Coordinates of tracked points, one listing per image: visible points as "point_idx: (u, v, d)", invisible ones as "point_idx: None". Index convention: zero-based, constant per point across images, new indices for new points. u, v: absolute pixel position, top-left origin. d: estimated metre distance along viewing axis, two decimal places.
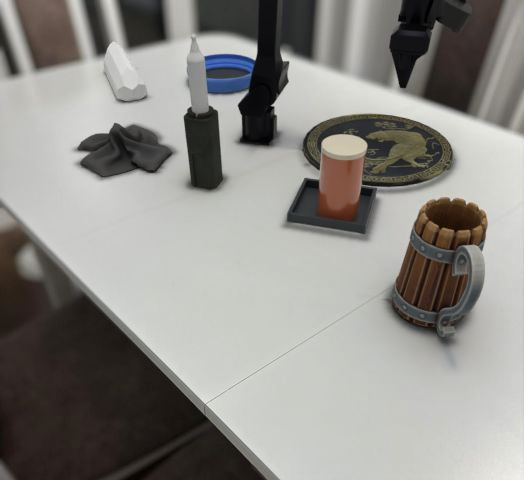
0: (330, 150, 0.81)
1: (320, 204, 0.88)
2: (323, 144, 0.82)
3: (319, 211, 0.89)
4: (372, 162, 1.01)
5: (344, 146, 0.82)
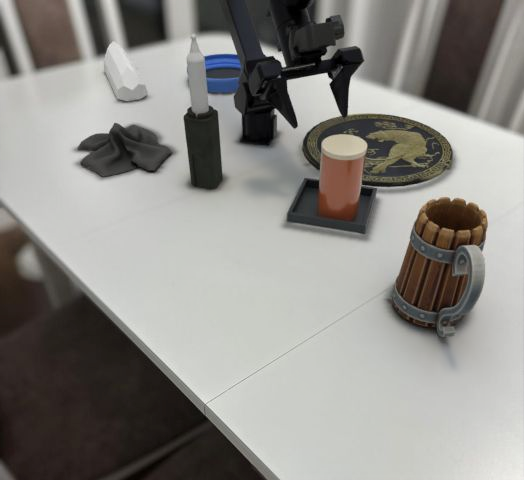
0: (330, 150, 0.81)
1: (320, 204, 0.88)
2: (323, 144, 0.82)
3: (319, 211, 0.89)
4: (372, 162, 1.01)
5: (344, 146, 0.82)
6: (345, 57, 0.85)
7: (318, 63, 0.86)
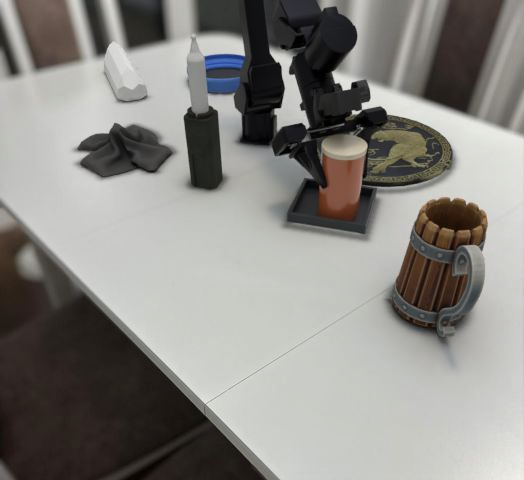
0: (330, 150, 0.81)
1: (320, 204, 0.88)
2: (323, 144, 0.82)
3: (319, 211, 0.89)
4: (372, 162, 1.01)
5: (344, 146, 0.82)
6: (370, 119, 0.84)
7: None
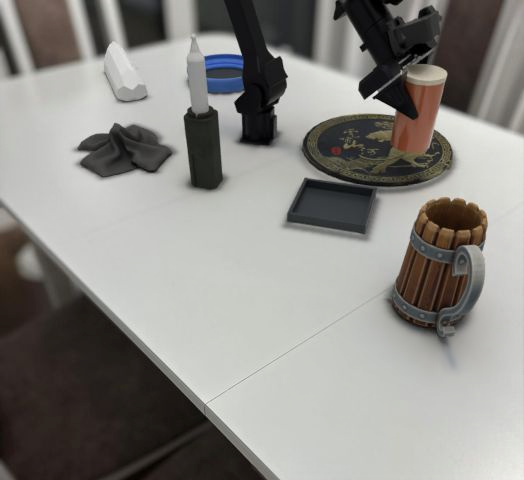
0: (422, 79, 0.83)
1: (404, 138, 0.91)
2: (409, 75, 0.84)
3: (402, 146, 0.92)
4: (372, 162, 1.01)
5: (427, 73, 0.85)
6: (428, 45, 0.88)
7: (404, 56, 0.88)
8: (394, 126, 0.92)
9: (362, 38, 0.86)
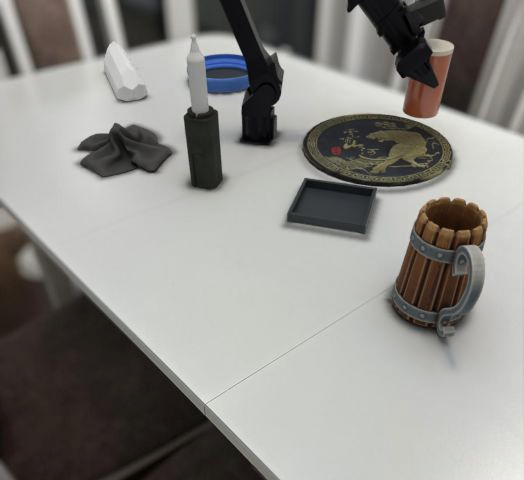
0: (441, 50, 0.95)
1: (424, 107, 1.02)
2: None
3: (423, 113, 1.03)
4: (372, 162, 1.01)
5: (437, 45, 0.97)
6: None
7: None
8: (411, 98, 1.02)
9: (379, 24, 0.93)
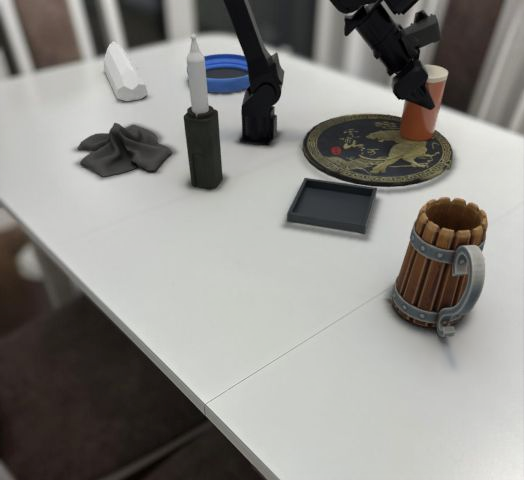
0: (436, 77, 0.98)
1: (420, 130, 1.05)
2: None
3: (419, 136, 1.06)
4: (372, 162, 1.01)
5: (432, 71, 1.00)
6: None
7: None
8: (407, 121, 1.05)
9: (376, 47, 0.96)
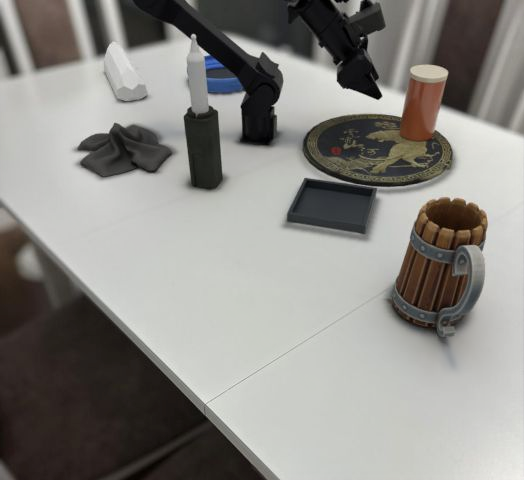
0: (436, 77, 0.98)
1: (420, 130, 1.05)
2: (423, 76, 0.98)
3: (419, 136, 1.06)
4: (372, 162, 1.01)
5: (432, 71, 1.00)
6: None
7: None
8: (407, 121, 1.05)
9: (320, 36, 0.95)
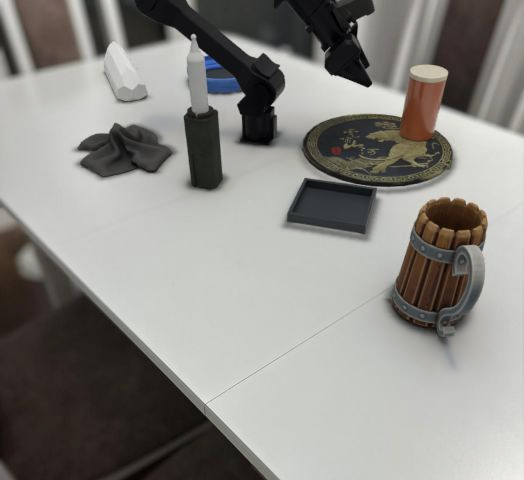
0: (436, 77, 0.98)
1: (420, 130, 1.05)
2: (423, 76, 0.98)
3: (419, 136, 1.06)
4: (372, 162, 1.01)
5: (432, 71, 1.00)
6: None
7: None
8: (407, 121, 1.05)
9: (307, 21, 0.92)
